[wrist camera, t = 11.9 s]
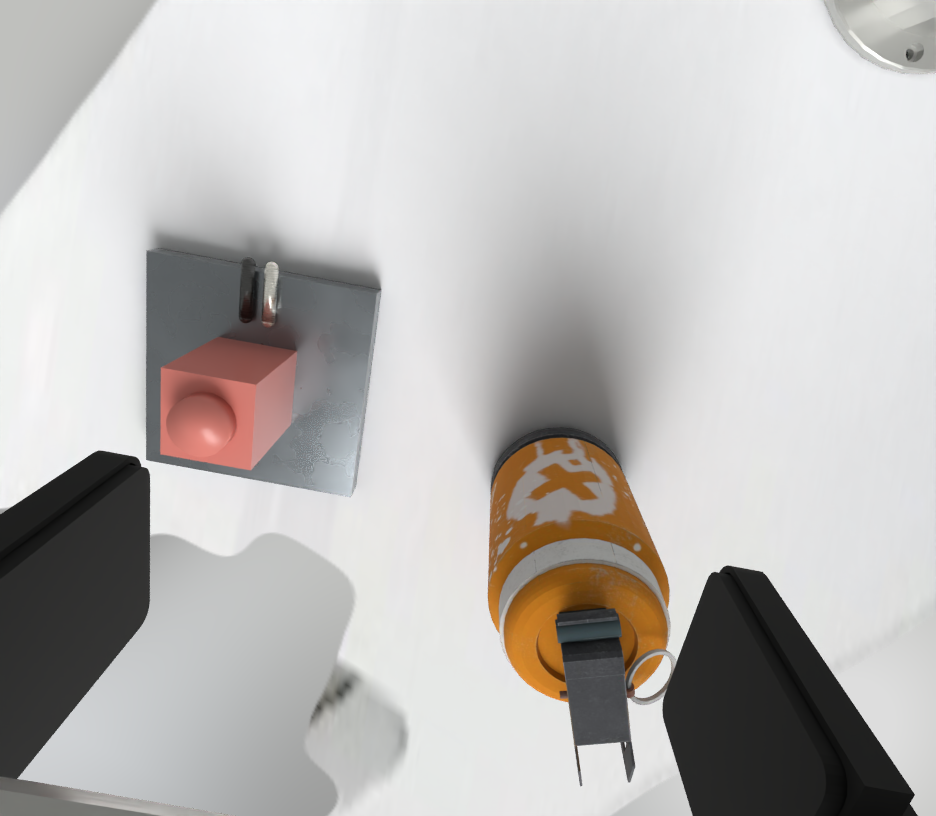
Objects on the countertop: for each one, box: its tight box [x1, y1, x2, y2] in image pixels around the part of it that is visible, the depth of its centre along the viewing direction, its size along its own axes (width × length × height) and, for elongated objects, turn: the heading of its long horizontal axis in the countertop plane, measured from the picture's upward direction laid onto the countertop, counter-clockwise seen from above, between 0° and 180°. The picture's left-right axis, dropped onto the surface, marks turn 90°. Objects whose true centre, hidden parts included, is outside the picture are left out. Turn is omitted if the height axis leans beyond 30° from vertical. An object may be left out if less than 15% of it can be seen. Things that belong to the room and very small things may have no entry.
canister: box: [488, 428, 677, 786], centre depth 34 cm, size 9×11×20 cm
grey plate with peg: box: [146, 248, 381, 497], centre depth 38 cm, size 15×14×6 cm
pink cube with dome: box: [160, 337, 297, 470], centre depth 36 cm, size 5×5×8 cm
